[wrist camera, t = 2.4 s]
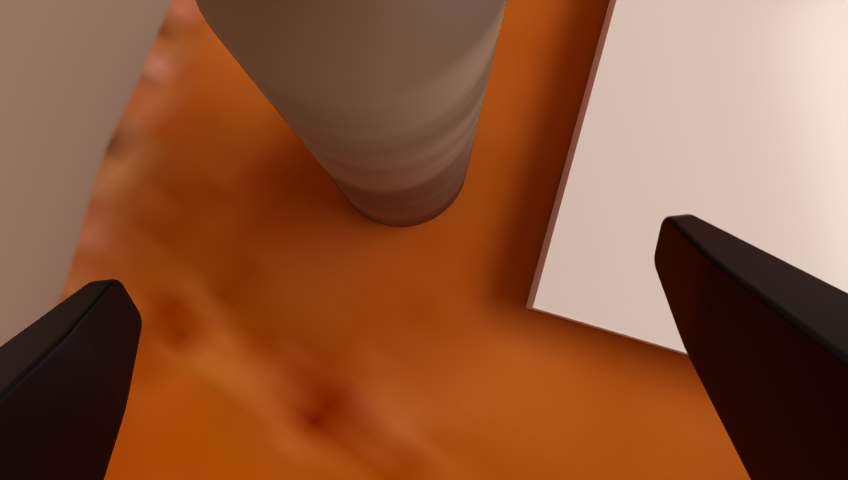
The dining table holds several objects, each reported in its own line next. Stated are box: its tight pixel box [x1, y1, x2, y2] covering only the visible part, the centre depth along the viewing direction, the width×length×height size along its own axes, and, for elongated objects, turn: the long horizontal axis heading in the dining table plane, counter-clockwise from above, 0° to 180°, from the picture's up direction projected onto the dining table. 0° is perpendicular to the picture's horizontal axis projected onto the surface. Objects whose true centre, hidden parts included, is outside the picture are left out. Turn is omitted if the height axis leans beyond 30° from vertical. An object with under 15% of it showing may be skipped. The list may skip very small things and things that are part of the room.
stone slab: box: [526, 0, 848, 356], centre depth 20 cm, size 16×12×2 cm
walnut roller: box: [196, 0, 507, 227], centre depth 15 cm, size 5×5×13 cm
